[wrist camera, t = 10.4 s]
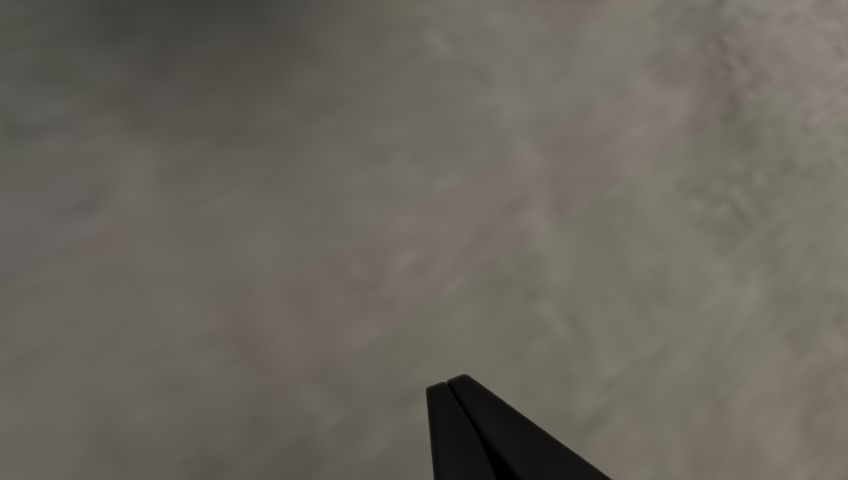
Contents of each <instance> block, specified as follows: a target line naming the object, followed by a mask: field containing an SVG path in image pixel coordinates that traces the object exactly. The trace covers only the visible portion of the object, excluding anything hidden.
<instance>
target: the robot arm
mask: <svg viewBox="0 0 848 480" xmlns="http://www.w3.org/2000/svg"><path fill="white" fill-rule="evenodd" d="M426 397H427V408H428V419H429V430H430V441H431V452H432V462H433V473H434V480H612V479H611V478H609V477H608V476H606V475H605V474H604V473H602V472H601V471H599V470H598V469H597V468H595V467H594V466H593V465H591V464H590V463H588V462H587V461H586V460H584V459H583V458H582V457H580V456H579V455H577V454H576V453H575V452H573V451H572V450H571V449H569V448H568V447H566V446H565V445H564V444H562V443H561V442H559V441H558V440H557V439H555V438H554V437H553V436H551V435H550V434H548V433H547V432H546V431H544V430H543V429H542V428H540V427H539V426H537V425H536V424H535V423H533V422H532V421H531V420H529V419H528V418H526V417H525V416H524V415H522V414H521V413H520V412H518V411H517V410H515V409H514V408H513V407H511V406H510V405H508V404H507V403H506V402H504V401H503V400H502V399H500V398H499V397H497V396H496V395H495V394H493V393H492V392H491V391H489V390H488V389H486V388H485V387H484V386H482V385H481V384H480V383H478V382H477V381H475V380H474V379H473V378H471V377H470V376H468V375H465V374H463V375H460V376H457V377H454V378H451V379H449V380H448V381H447V382H440V383H437V384H435V385H432V386H429V387H427V389H426Z"/></svg>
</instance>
